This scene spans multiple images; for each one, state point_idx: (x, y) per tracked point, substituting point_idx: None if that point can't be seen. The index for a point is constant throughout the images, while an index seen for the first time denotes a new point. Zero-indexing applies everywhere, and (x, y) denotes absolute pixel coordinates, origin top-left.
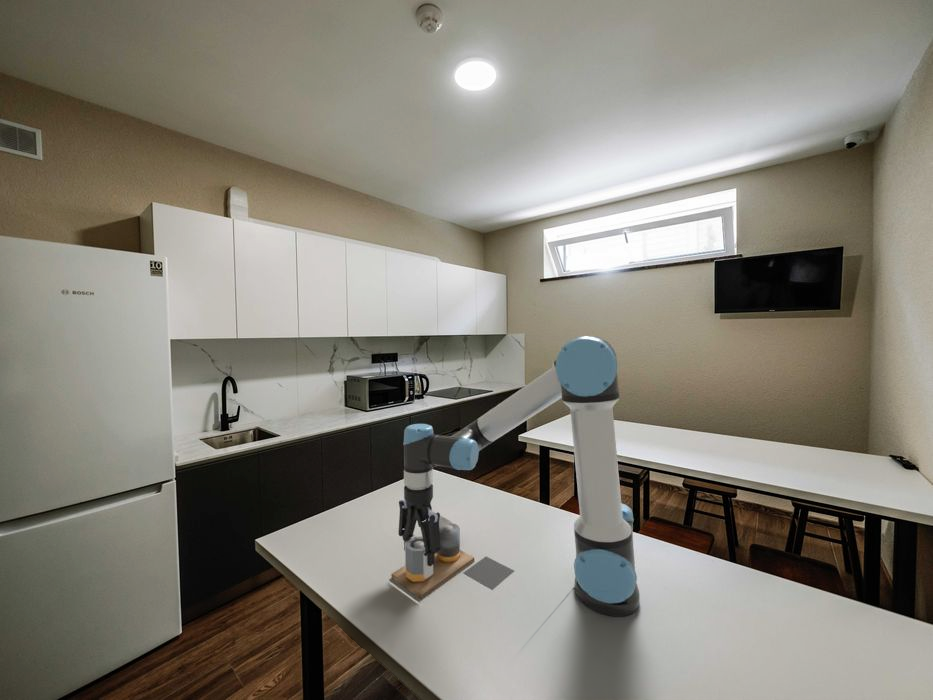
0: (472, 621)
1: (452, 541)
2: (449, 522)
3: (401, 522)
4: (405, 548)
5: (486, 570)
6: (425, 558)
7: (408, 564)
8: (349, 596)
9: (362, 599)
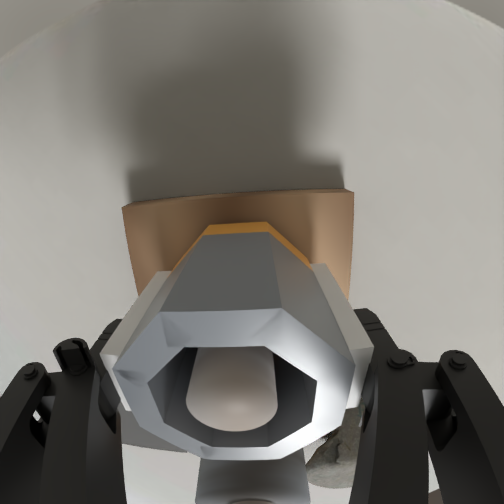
0: (5, 264)
1: (200, 472)
2: (343, 487)
3: (497, 461)
4: (351, 317)
5: (133, 421)
6: (113, 334)
7: (240, 247)
8: (372, 20)
9: (322, 33)
